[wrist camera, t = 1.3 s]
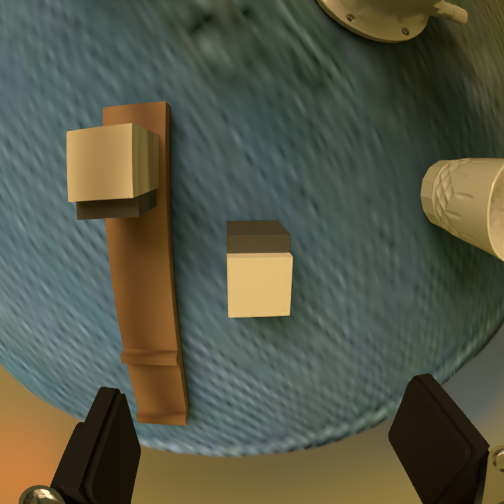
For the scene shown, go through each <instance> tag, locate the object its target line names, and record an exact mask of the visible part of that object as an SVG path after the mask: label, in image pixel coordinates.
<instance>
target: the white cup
mask: <svg viewBox="0 0 504 504" xmlns="http://www.w3.org/2000/svg"><path fill="white" fill-rule="evenodd" d="M420 198H421V203H422V208H423V212H424V213H425V215H426V216H427V218H428V219H429V221H430V222H431V223H433V224H435V225H436V226H438V227H440V228H442V229H445V230H447V231H448V232H449V233H450V234H452V235H454V236H456V237H458V238H459V239H461V240H463V241H465V242H467V243H469V244H471V245H474V246H476V247H477V248H479V249H481V250H483V251H485V252H487V253H489V254H491V255H493V256H495V257H497V258H499V259H500V260H502V261H504V158H465V159H463V158H462V159H459V160H440V161H438V162H437V163H435V164H434V165H432V166H431V167H429V169H428V171H427V173H426V174H425V176H424V178H423V180H422V186H421V193H420Z"/></svg>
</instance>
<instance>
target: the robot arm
mask: <svg viewBox="0 0 504 504" xmlns="http://www.w3.org/2000/svg"><path fill="white" fill-rule="evenodd" d="M316 1H317V2H318V4H319V5H320V7H321V8H322V9H323V10H324V11H325V12H326V13H327V14H328V15H329V16H330V17H331V18H333V19H334V20H335V21H336V22H338V23H339V24H340V25H342V26H343V27H345V28H347V29H348V30H350V31H351V32H353V33H355V34H358V35H360V36H362V37H364V38H367V39H370V40H374V41H377V42H383V43H400V42H404V41H408V40H409V39H411V38H413V37H415V36H417V35H418V34H419V33H421V32H422V31H423V29H424V28H425V26H426V24H427V21H428V19H429V16H430V15H433V16H435V17H440V16H443V17H446V18H447V19H449V20H451V21H453V22H455V23H458V24H460V25H463V24H465V23H466V21H467V18H468V16H467V12H466V11H465V10H464V9H462V8H460V7H457V6H455V5H453V4H451V3H447V2H445V1H444V0H316ZM348 20H349V21H348ZM388 436H389V441H390V443H391V445H392V447H393V449H394V450H395V452H396V454H397V456H398V458H399V460H400V462H401V463H402V465H403V467H404V469H405V471H406V473H407V475H408V476H409V478H410V480H411V482H412V484H413V486H414V487H415V489H416V492H417V494H418V495H419V497H420V499H421V501H422V503H423V504H504V446H497V447H495V448H493V449H492V450H491V452H489V451H488V448H489V447H490V445H489V444H488V443H487V441H486V440H485V439H484V438H483V437H482V435H481V434H480V433H479V431H478V430H477V429H476V428H475V427H474V425H473V424H472V423H471V422H470V420H469V419H468V418H467V417H466V415H465V414H464V413H463V412H462V411H461V409H460V408H459V407H458V406H457V405H456V403H455V402H454V401H453V400H452V399H451V397H450V396H449V395H448V394H447V393H446V392H445V390H444V389H443V388H442V387H441V386H440V385H439V383H438V382H437V381H436V380H435V379H434V378H433V376H432V375H430V374H428V373H427V374H423V375H418V376H414V377H413V378H412V380H411V381H410V382H409V383H408V385H407V388H406V391H405V393H404V396H403V399H402V401H401V404H400V407H399V409H398V412H397V414H396V416H395V419H394V421H393V424H392V426H391V428H390V431H389V434H388ZM140 454H141V449H140V444H139V441H138V438H137V434H136V431H135V428H134V424H133V421H132V417H131V414H130V410H129V406H128V402H127V399H126V395H125V394H121V393H120V390H119V389H116V388H108V387H101V388H100V389H99V391H98V393H97V395H96V398H95V400H94V402H93V404H92V406H91V409H90V411H89V413H88V415H87V417H86V420H85V422H84V423H83V422H79V423H78V424H77V425H76V427H75V429H74V431H73V433H72V436H71V438H70V440H69V442H68V445H67V447H66V449H65V451H64V454H63V456H62V458H61V461H60V463H59V466H58V468H57V470H56V473H55V476H54V478H53V480H52V483H51V485H50V487H48V486H43V485H37V486H32V487H30V488H28V489H26V490H25V491H24V492H23V493H22V494H21V496H20V498H19V504H131V499H132V493H133V488H134V483H135V478H136V474H137V469H138V464H139V459H140Z"/></svg>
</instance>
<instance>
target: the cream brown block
mask: <svg viewBox="0 0 504 504" xmlns="http://www.w3.org/2000/svg"><path fill="white" fill-rule="evenodd" d="M292 261H293V257H292V255H291V254H290V234H289V233H288V231H287V230H286V229H285V228H284V227H283V226H282V225H281V224H280V223H279V221H227V285H228V316H229V317H263V316H287V315H290V300H291V282H292Z"/></svg>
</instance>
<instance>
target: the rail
mask: <svg viewBox="0 0 504 504" xmlns="http://www.w3.org/2000/svg"><path fill="white" fill-rule="evenodd" d="M67 180H68V199H69V202H76V207H77V219H78V220H83V219H103V218H105V221H106V233H107V244H108V253H109V262H110V270H111V278H112V285H113V292H114V298H115V305H116V311H117V316H118V322H119V327H120V333H121V338H122V343H123V348H124V349H123V351H122V353H121V355H120V357H121V361H122V363H124V364H127V366H128V370H129V375H130V379H131V383H132V387H133V391H134V395H135V398H136V402H137V406H138V413H137V416H136V418H137V421H138V423H150V424H166V425H187V419H188V411H189V403H188V396H187V389H186V382H185V375H184V367H183V359H182V351H181V342H180V333H179V323H178V313H177V302H176V290H175V277H174V263H173V246H172V227H171V201H170V105H169V104H168V103H167V102H166V101H164V102H151V103H140V104H131V105H122V106H114V107H106V108H103V127H95V128H88V129H81V130H75V131H68V132H67Z"/></svg>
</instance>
